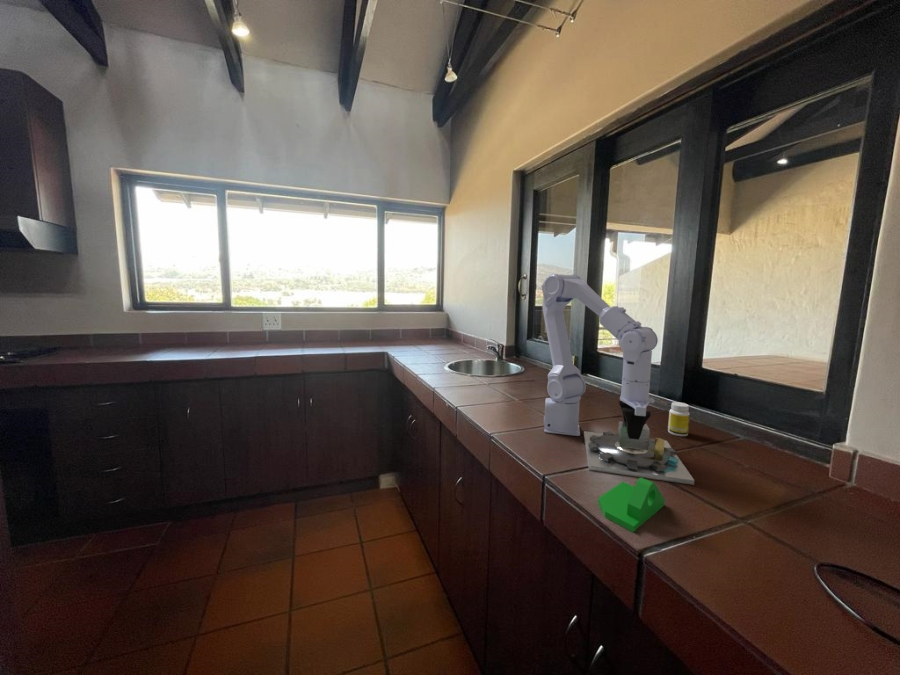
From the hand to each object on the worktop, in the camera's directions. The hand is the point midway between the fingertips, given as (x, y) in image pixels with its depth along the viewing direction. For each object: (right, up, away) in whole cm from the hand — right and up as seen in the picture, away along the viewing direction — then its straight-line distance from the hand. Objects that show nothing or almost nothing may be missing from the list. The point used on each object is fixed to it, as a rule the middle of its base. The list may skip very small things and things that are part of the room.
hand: (632, 435), depth 82 cm
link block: (0, -3, 0) cm, 3 cm away
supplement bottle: (+20, -4, +14) cm, 25 cm away
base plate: (0, -5, +1) cm, 5 cm away
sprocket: (0, -4, +1) cm, 4 cm away
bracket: (-11, -8, -19) cm, 23 cm away
